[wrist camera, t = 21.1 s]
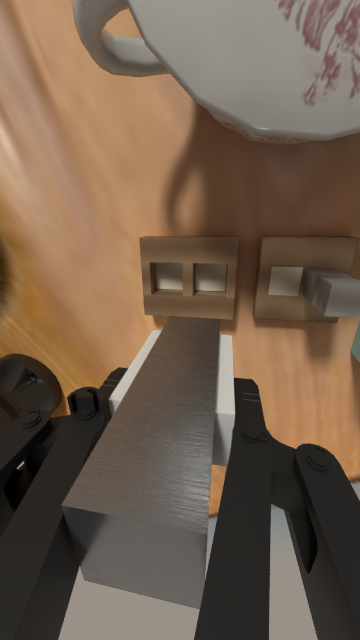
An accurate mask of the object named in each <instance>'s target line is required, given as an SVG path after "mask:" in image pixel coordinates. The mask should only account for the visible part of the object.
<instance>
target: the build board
mask: <svg viewBox="0 0 360 640" xmlns="http://www.w3.org/2000/svg"><path fill="white" fill-rule="evenodd" d="M139 239H140V253H141V267H142V282H143V296H144V310H145V315H159V316H177V317H195V318H213V319H231V320H233V311H234V298H235V286H236V273H237V261H238V248H239V237H238V236H145V237H141V238H139ZM155 262H156V264H155ZM195 263H196V288H195ZM226 268H227V279H226ZM156 279H157V285H156ZM225 284H226V292H221V291H225ZM168 289H175V290H168ZM195 290H202V291H195Z"/></svg>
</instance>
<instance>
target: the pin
mask: <svg viewBox="0 0 360 640" xmlns="http://www.w3.org/2000/svg"><path fill="white" fill-rule="evenodd" d="M219 333H220V320H217V319H200V318H182V317H169V319H168V321H167V322H166V324H165V326H164V328H163V329H162V331H161V333H160V335H159V336H158V338H157V340H156V341H155V343H154V345H153V347H152V348H151V350H150V352H149V354H148V355H147V357H146V359H145V361H144V362H143V364H142V366H141V368H140V369H139V371H138V373H137V375H136V376H135V378H134V380H133V381H132V383H131V385H130V387H129V388H128V390H127V392H126V394H125V395H124V397H123V399H122V401H121V402H120V404H119V406H118V408H117V409H116V411H115V413H114V414H113V416H112V418H111V420H110V421H109V423H108V425H107V427H106V428H105V430H104V432H103V434H102V435H101V437H100V439H99V441H98V442H97V444H96V446H95V448H94V449H93V451H92V453H91V454H90V456H89V458H88V460H87V461H86V463H85V465H84V467H83V468H82V470H81V472H80V474H79V475H78V477H77V479H76V481H75V482H74V484H73V486H72V487H71V489H70V491H69V493H68V494H67V496H66V498H65V500H64V501H63V503H62V505H61V506H62V509H63V512H64V516H65V519H66V522H67V525H68V529H69V532H70V535H71V538H72V542H73V545H74V548H75V551H76V555H77V558H78V561H79V564H80V567H81V571H82V574H83V577H84V580H85V581H89V582H94V583H98V584H101V585H106V586H109V587H113V588H118V589H121V590H125V591H129V592H133V593H138V594H141V595H145V596H149V597H153V598H157V599H161V600H165V601H169V602H173V603H177V604H181V605H185V606H189V607H193V608H197V609H200V606H201V601H202V596H203V590H204V584H205V568H206V567H205V566H206V550H207V534H208V517H209V500H210V484H211V467H212V450H213V433H214V417H215V400H216V383H217V366H218V349H219Z"/></svg>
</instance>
